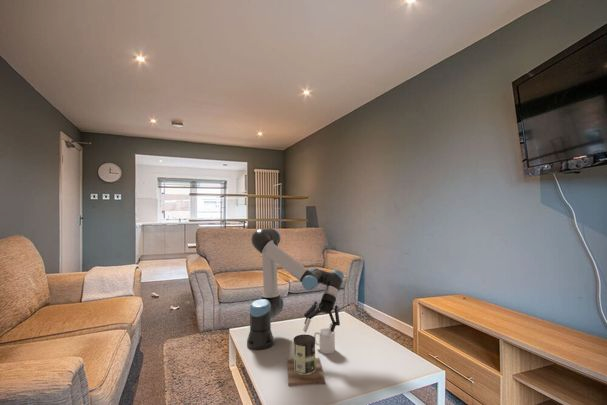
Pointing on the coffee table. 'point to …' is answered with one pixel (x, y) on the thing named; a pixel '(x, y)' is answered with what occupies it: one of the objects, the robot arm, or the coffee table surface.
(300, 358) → the coffee can
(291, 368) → the walnut board
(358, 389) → the coffee table surface
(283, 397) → the coffee table surface
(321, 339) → the cup
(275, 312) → the robot arm
